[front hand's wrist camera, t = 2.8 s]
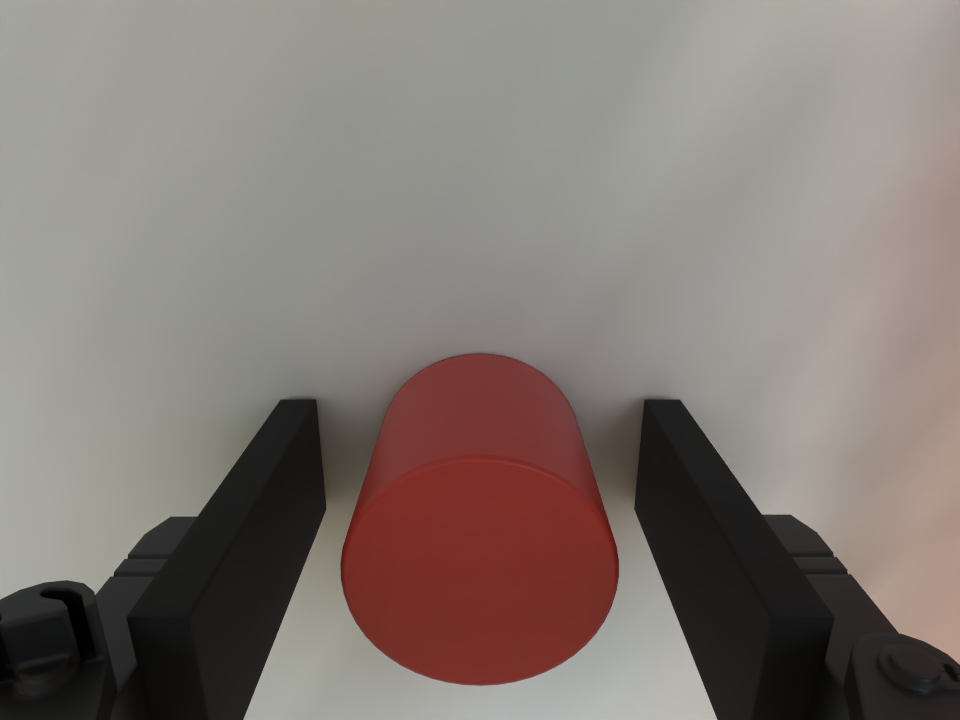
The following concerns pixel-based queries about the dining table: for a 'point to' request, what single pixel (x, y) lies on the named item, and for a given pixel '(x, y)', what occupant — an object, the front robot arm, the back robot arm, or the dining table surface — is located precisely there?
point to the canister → (479, 528)
